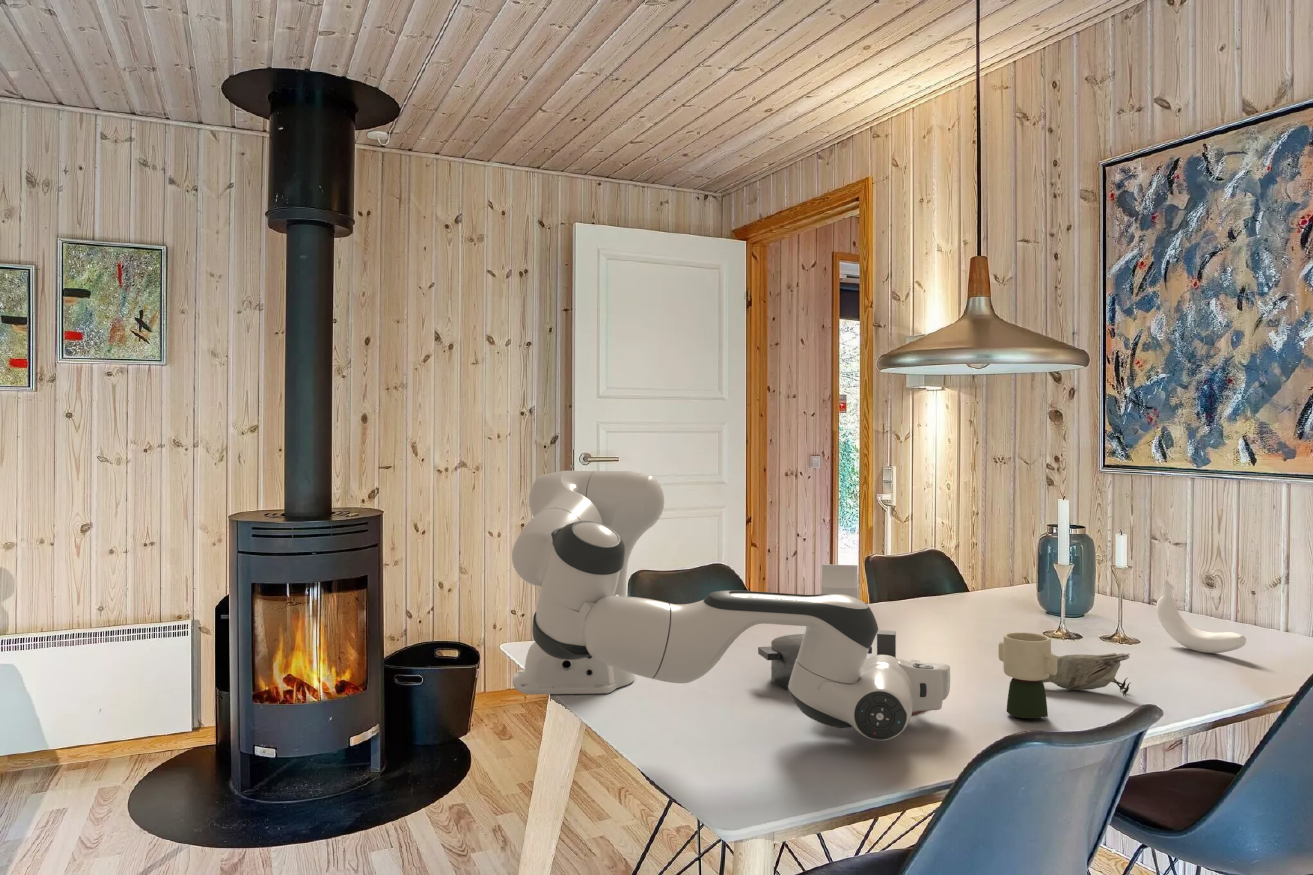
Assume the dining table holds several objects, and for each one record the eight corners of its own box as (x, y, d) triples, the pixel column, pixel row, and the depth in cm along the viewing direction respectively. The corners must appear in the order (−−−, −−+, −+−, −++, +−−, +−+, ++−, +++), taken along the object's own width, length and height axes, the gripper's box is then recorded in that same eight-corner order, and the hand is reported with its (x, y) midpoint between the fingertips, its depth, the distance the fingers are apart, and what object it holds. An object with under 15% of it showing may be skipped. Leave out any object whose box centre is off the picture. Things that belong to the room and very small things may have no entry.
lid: (929, 718, 143) (929, 644, 143) (841, 711, 147) (841, 639, 147) (928, 694, 156) (928, 626, 156) (847, 687, 160) (847, 621, 160)
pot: (779, 698, 153) (779, 658, 153) (748, 673, 169) (748, 637, 169) (886, 690, 158) (886, 650, 158) (846, 667, 174) (846, 631, 173)
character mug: (1071, 723, 140) (1071, 641, 140) (1041, 730, 136) (1041, 646, 136) (1013, 704, 149) (1013, 627, 149) (984, 711, 146) (984, 632, 146)
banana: (1242, 664, 175) (1242, 590, 175) (1150, 643, 192) (1150, 576, 192) (1256, 661, 177) (1256, 588, 177) (1163, 641, 194) (1163, 574, 194)
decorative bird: (1029, 683, 162) (1029, 643, 162) (1126, 691, 157) (1126, 650, 157) (1032, 692, 157) (1032, 650, 157) (1132, 700, 152) (1133, 657, 152)
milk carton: (858, 663, 177) (857, 568, 176) (821, 661, 178) (821, 567, 178) (857, 654, 184) (857, 562, 183) (822, 652, 185) (822, 561, 185)
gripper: (816, 699, 141) (825, 676, 154) (952, 711, 135) (949, 686, 148) (816, 660, 141) (825, 640, 154) (951, 669, 135) (948, 648, 148)
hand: (887, 663), depth 151 cm, fingers open, 8 cm apart
